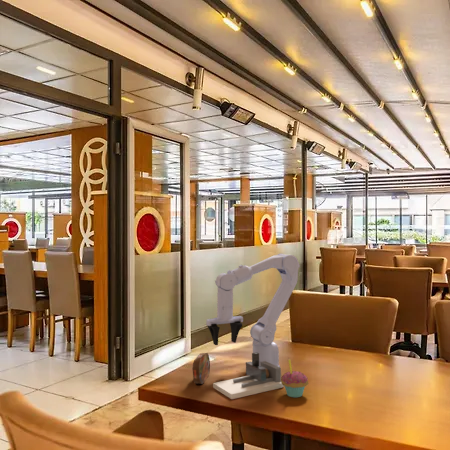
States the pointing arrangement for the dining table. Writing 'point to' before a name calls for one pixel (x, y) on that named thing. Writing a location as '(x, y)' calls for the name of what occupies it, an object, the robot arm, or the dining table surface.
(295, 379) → the cupcake
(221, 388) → the board
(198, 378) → the tin
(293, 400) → the dining table surface
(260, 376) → the sliding jaw
